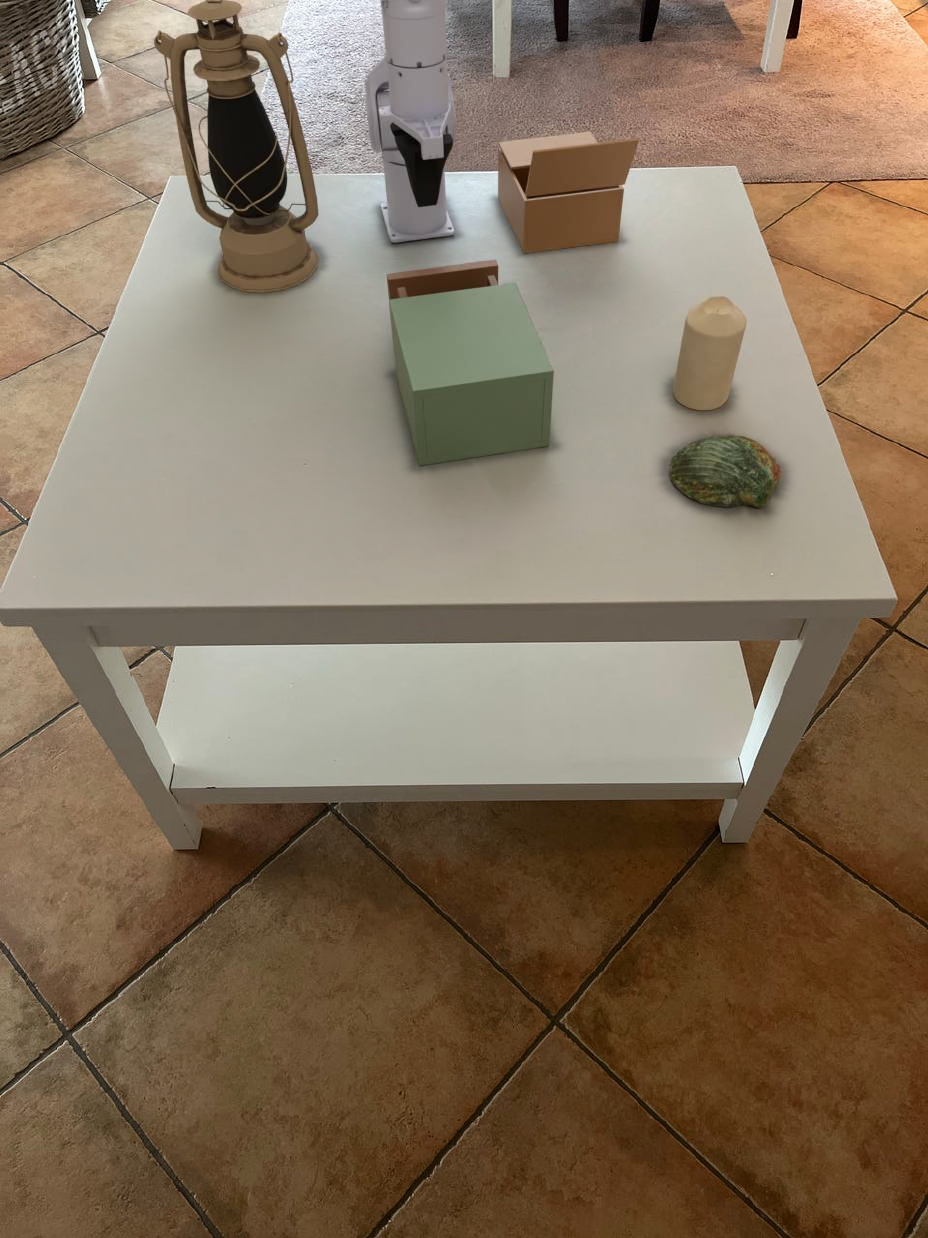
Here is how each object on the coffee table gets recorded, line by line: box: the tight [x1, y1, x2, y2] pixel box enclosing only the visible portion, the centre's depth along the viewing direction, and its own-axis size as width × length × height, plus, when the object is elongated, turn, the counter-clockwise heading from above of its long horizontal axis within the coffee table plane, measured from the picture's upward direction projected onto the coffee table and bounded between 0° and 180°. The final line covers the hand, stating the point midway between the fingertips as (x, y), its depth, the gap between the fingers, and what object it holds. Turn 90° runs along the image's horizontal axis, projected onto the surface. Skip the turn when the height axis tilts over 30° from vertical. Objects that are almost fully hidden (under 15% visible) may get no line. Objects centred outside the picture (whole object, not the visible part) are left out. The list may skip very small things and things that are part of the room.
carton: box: [497, 131, 625, 255], centre depth 111 cm, size 14×12×7 cm
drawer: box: [385, 259, 499, 301], centre depth 93 cm, size 18×11×7 cm, turn 11°
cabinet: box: [388, 282, 555, 467], centre depth 88 cm, size 15×13×9 cm
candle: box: [672, 295, 748, 411], centre depth 87 cm, size 6×6×10 cm
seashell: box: [668, 434, 782, 509], centre depth 82 cm, size 10×4×10 cm
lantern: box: [153, 0, 320, 294], centre depth 97 cm, size 15×12×30 cm
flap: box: [525, 137, 640, 197], centre depth 101 cm, size 7×12×1 cm
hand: (425, 200), depth 96 cm, fingers closed
